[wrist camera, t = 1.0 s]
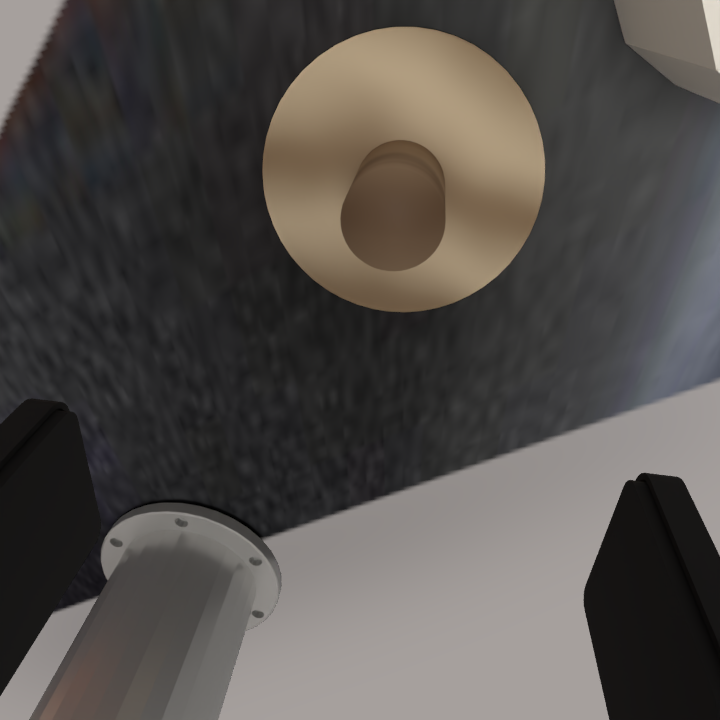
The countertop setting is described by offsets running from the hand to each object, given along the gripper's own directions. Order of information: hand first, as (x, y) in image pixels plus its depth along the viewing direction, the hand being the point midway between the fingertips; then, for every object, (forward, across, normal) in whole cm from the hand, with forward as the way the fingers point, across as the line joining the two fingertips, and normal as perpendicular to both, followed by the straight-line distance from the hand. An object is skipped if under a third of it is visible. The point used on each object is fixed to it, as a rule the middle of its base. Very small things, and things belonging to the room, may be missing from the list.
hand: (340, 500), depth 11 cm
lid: (+21, 0, 0) cm, 21 cm away
